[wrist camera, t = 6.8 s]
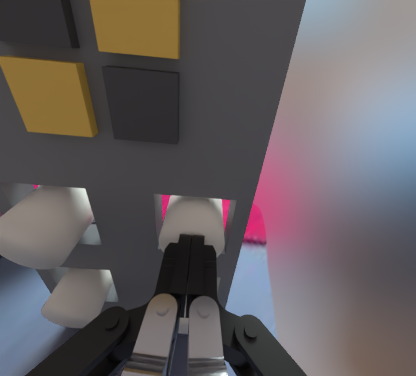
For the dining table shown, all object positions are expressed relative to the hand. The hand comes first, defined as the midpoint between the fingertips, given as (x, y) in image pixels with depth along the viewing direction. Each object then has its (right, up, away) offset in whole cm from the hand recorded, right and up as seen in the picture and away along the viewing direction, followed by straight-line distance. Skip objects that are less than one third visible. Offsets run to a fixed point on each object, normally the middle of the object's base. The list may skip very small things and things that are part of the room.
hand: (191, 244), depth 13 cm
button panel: (-6, -10, +13) cm, 17 cm away
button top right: (0, 0, +3) cm, 3 cm away
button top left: (-9, 0, +2) cm, 9 cm away
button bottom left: (-10, -7, +6) cm, 13 cm away
